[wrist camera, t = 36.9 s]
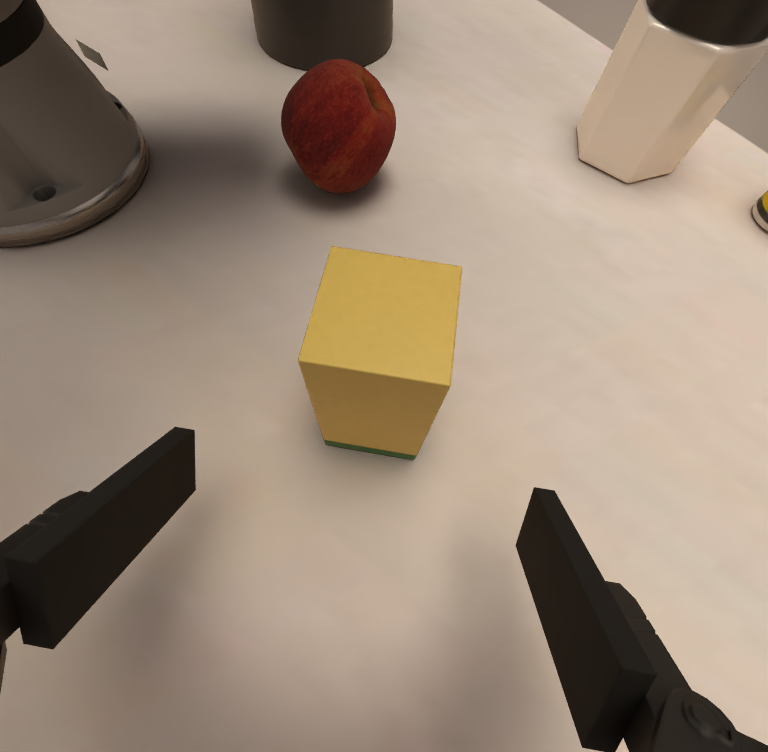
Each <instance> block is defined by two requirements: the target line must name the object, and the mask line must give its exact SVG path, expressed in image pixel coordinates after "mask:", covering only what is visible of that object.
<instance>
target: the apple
mask: <svg viewBox="0 0 768 752" xmlns="http://www.w3.org/2000/svg"><path fill="white" fill-rule="evenodd" d="M281 126H282V132H283V136H284V138H285V141H286V143H287V145H288V146H289V148H290V150H291V152H292V154H293V156H294V157H295V159H296V161H297V163H298V165H299V166H300V168H301V169H302V170H303V172H304V173H305V175H306V176H307V177H308V178H309V179H310V180H311V181H312V182H313V183H314V184H315V185H317V186H318V187H320V188H321V189H323V190H325V191H328V192H333V193H348V192H352V191H355V190H357V189H359V188H361V187H363V186H364V185H366V184H367V183H368V182H369V181H370V180H371V179H372V178H373V177H374V176H375V175H376V174H377V172H378V171H379V169H380V168H381V166H382V165H383V163H384V161H385V160H386V158H387V156H388V153H389V151H390V149H391V146H392V143H393V140H394V136H395V130H396V117H395V110H394V107H393V104H392V102H391V101H390V99H389V98H388V96H387V94H386V92H385V90H384V89H383V87H382V86H381V85H380V83H379V81H378V80H377V78H375V77H374V76H373V75H372V74H371V73H370V72H369V71H367V70H366V69H365V68H364V67H362V66H361V65H359V64H356V63H354V62H352V61H349V60H346V59H333V60H328V61H325V62H322V63H320V64H318V65H316V66H315V67H313V68H312V69H310V70H309V71H308V72H306V73H305V74H304V75H303V76H302V77H301V78H300V79H299V80H298V81H297V82H296V84H295V85H294V86H293V87H292V89H291V90H290V91H289V93H288V95H287V97H286V99H285V102H284V105H283V109H282V115H281Z"/></svg>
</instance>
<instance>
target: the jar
mask: <svg viewBox="0 0 768 752" xmlns="http://www.w3.org/2000/svg"><path fill="white" fill-rule="evenodd" d="M767 51H768V0H638V1H637V3H636V5H635V7H634V9H633V12H632V14H631V16H630V18H629V20H628V22H627V24H626V26H625V28H624V30H623V32H622V34H621V36H620V38H619V40H618V42H617V45H616V46H615V49H614V51H613V53H612V55H611V57H610V59H609V61H608V63H607V65H606V67H605V69H604V71H603V73H602V75H601V77H600V79H599V81H598V83H597V85H596V88H595V90H594V92H593V94H592V96H591V98H590V100H589V102H588V104H587V106H586V108H585V110H584V112H583V114H582V116H581V118H580V120H579V122H578V125H577V135H578V148H579V158H580V159H581V160H582V161H584V162H586V163H588V164H590V165H592V166H594V167H596V168H598V169H600V170H602V171H604V172H606V173H608V174H610V175H612V176H614V177H616V178H618V179H620V180H621V181H623V182H625V183H632V182H636V181H640V180H644V179H648V178H652V177H656V176H660V175H664V174H668V173H671V172H672V171H673V170H674V169H675V168H676V166H677V165H678V164H679V163H680V161H681V160H682V159H683V158H684V156H685V155H686V154H687V153H688V151H689V150H690V149H691V147H692V146H693V145H694V144H695V142H696V141H697V140H698V139H699V137H700V136H701V135H702V133H703V132H704V131H705V130H706V128H707V127H708V126H709V125H710V123H711V122H712V121H713V119H714V118H715V117H716V116H717V114H718V113H719V112H720V110H721V109H722V108H723V107H724V105H725V104H726V103H727V102H728V100H729V99H730V98H731V97H732V95H733V94H734V93H735V92H736V90H737V89H738V88H739V86H740V85H741V84H742V82H743V81H744V80H745V79H746V78H747V76H748V75H749V74H750V72H751V71H752V70H753V69H754V67H755V66H756V65H757V63H758V62H759V61H760V60H761V58H762V57H763V56H764V55H765V53H766V52H767Z"/></svg>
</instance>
